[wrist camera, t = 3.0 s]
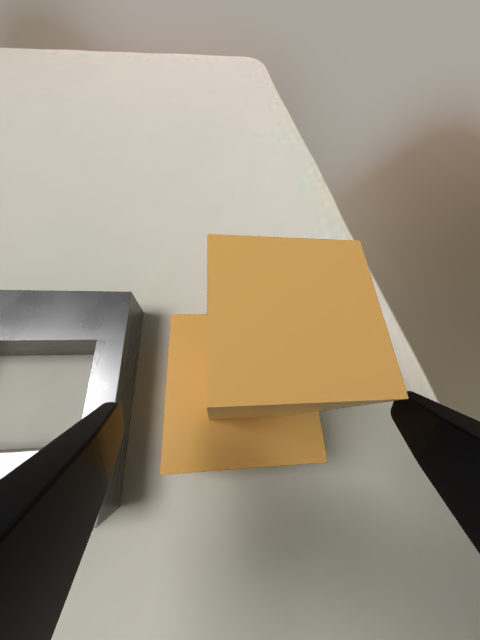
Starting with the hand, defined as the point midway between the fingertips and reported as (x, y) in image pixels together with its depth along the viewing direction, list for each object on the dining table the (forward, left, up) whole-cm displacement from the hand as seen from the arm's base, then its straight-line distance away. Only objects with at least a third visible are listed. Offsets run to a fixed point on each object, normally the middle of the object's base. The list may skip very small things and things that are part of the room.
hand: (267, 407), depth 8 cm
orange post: (+1, -1, -9) cm, 9 cm away
